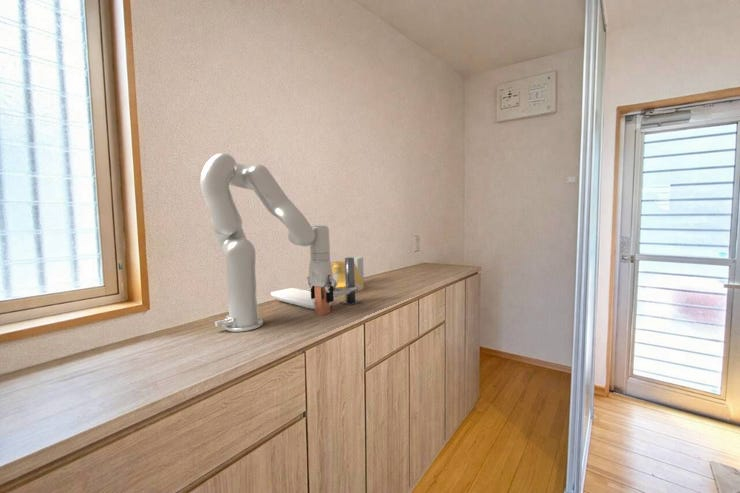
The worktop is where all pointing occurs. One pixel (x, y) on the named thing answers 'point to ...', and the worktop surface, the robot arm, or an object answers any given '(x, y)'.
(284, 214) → the robot arm
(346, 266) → the rosette post
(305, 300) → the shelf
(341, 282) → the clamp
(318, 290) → the orange-brown rectangular block
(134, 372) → the worktop surface
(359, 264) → the skincare box
